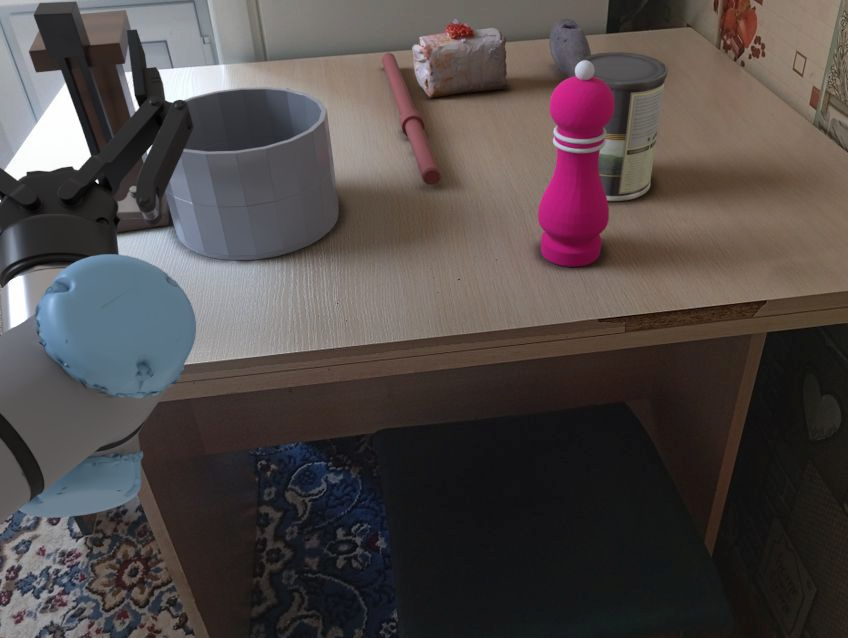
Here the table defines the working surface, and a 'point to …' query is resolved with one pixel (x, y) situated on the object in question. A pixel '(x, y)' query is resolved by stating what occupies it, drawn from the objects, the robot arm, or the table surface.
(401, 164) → the table surface
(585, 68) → the pepper mill
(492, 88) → the food item
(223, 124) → the pot
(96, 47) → the pedestal
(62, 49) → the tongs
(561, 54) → the perforated stone tool
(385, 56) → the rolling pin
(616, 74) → the coffee can
